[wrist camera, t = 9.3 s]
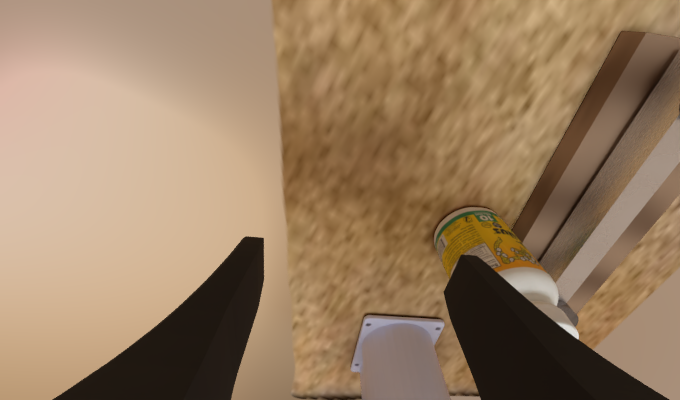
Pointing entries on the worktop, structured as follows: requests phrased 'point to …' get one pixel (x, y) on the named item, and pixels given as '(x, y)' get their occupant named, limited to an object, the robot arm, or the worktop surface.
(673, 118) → the lever
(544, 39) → the worktop surface
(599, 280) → the base board
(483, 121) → the worktop surface
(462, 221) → the supplement bottle
